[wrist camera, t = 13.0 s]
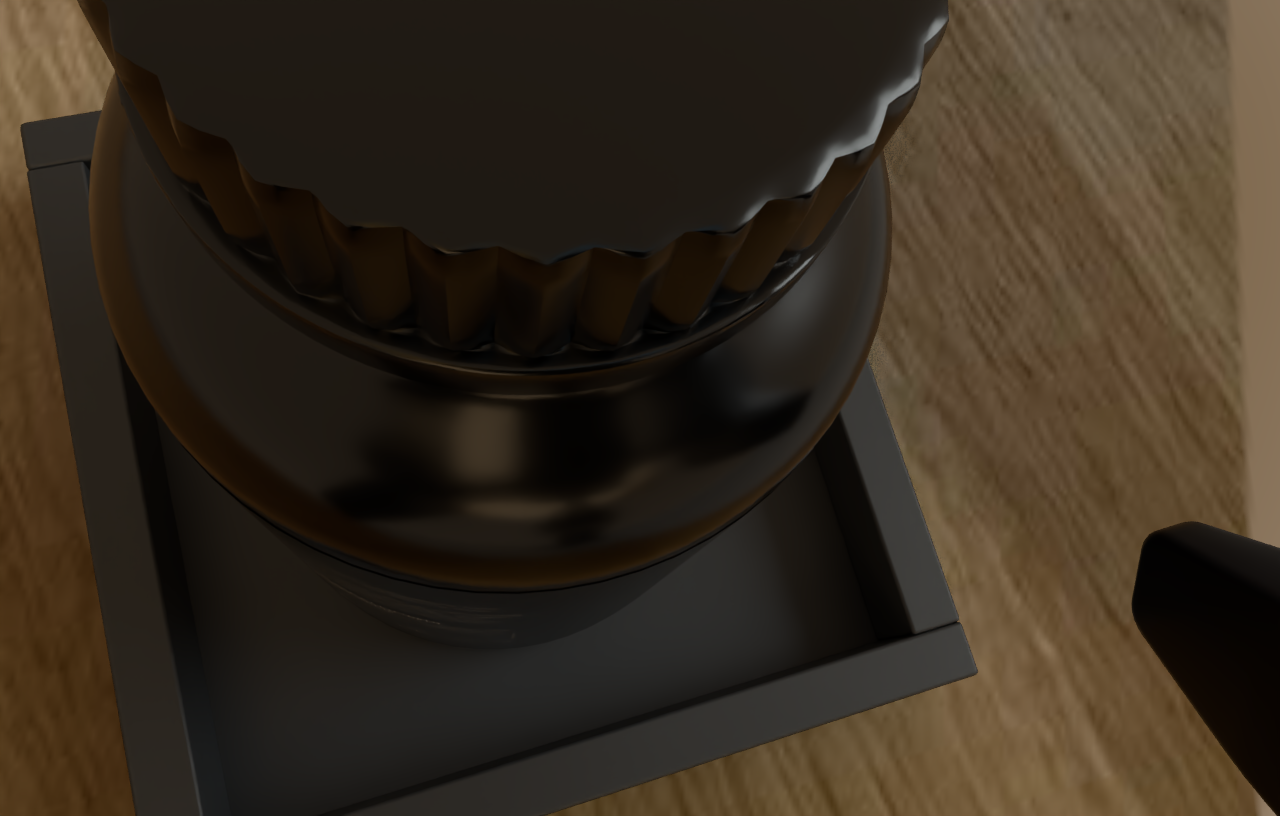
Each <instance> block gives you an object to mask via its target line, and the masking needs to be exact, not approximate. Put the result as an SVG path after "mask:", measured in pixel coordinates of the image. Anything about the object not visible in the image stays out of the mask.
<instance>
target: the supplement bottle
mask: <svg viewBox="0 0 1280 816" xmlns="http://www.w3.org/2000/svg"><path fill="white" fill-rule="evenodd" d="M77 1H78V3H79V5H80V8H81V9H82V11H83V13H84V15H85V17H86V19H87V21H88V22H89V24H90V26H91V28H92V30H93V32H94V33H95V35H96V37H97V39H98V41H99V42H100V44H101V46H102V48H103V50H104V51H105V53H106V55H107V57H108V59H109V60H110V62H111V64H112V66H113V67H114V70H115V73H114V75H113V77H112V80H111V82H110V85H109V88H108V91H107V94H106V98H105V101H104V105H103V108H102V111H101V115H100V118H99V122H98V125H97V131H96V137H95V143H94V149H93V155H92V161H91V168H90V185H89V206H88V209H89V223H90V238H91V248H92V253H93V259H94V264H95V269H96V275H97V280H98V285H99V290H100V294H101V297H102V300H103V303H104V306H105V310H106V313H107V316H108V319H109V322H110V326H111V329H112V331H113V333H114V335H115V338H116V340H117V342H118V344H119V347H120V349H121V351H122V353H123V356H124V358H125V360H126V362H127V365H128V366H129V368H130V370H131V371H132V373H133V375H134V377H135V378H136V380H137V382H138V383H139V385H140V387H141V389H142V390H143V392H144V394H145V395H146V397H147V399H148V400H149V402H150V403H151V405H152V406H153V407H154V409H155V410H156V411H157V413H158V414H159V415H160V417H161V418H162V420H163V421H164V422H165V424H166V425H167V426H168V428H169V429H170V430H171V432H172V433H173V434H174V436H175V437H176V438H177V440H178V441H179V442H180V444H181V445H182V446H183V448H184V449H185V450H186V451H187V452H188V453H189V454H190V455H191V456H192V457H193V459H194V460H195V461H196V462H197V463H198V464H199V465H200V466H201V467H202V468H203V469H204V470H205V471H206V473H207V474H208V475H209V476H210V477H211V478H212V479H213V480H214V481H215V482H216V483H217V484H218V485H219V486H220V487H221V488H223V489H224V490H225V491H226V492H227V493H228V494H229V495H230V496H231V497H232V498H233V499H235V500H236V501H237V502H238V503H239V504H240V505H241V506H242V507H243V508H244V509H246V510H247V511H248V512H249V513H250V514H251V515H252V516H253V517H254V518H256V519H257V520H258V521H259V522H260V523H261V524H262V525H263V526H264V527H265V528H267V529H268V530H269V531H270V532H271V533H272V534H273V535H274V536H275V537H276V538H278V539H279V540H280V541H281V542H282V543H283V544H284V545H285V546H286V547H287V548H289V549H290V550H291V551H292V552H293V553H294V554H295V555H296V556H297V557H298V558H300V559H301V560H302V561H303V562H304V563H305V564H306V565H307V566H308V567H310V568H311V569H312V570H313V571H314V572H315V573H316V574H317V575H318V576H319V577H321V578H322V579H323V580H324V581H325V582H326V583H327V584H329V585H330V586H331V587H332V588H333V589H334V590H335V591H337V592H338V593H339V594H340V595H341V596H343V597H344V598H345V599H347V600H348V601H350V602H351V603H353V604H354V605H355V606H357V607H358V608H360V609H361V610H362V611H364V612H365V613H367V614H368V615H370V616H372V617H374V618H375V619H377V620H379V621H381V622H382V623H384V624H386V625H388V626H390V627H392V628H395V629H397V630H399V631H402V632H404V633H406V634H408V635H411V636H414V637H418V638H421V639H424V640H427V641H430V642H434V643H439V644H444V645H449V646H453V647H462V648H471V649H509V648H520V647H527V646H532V645H537V644H542V643H547V642H550V641H554V640H557V639H560V638H564V637H567V636H570V635H572V634H575V633H577V632H579V631H582V630H584V629H587V628H589V627H591V626H593V625H595V624H597V623H598V622H600V621H602V620H604V619H606V618H608V617H610V616H611V615H613V614H614V613H616V612H618V611H619V610H621V609H622V608H624V607H625V606H627V605H628V604H630V603H631V602H633V601H634V600H636V599H637V598H638V597H640V596H641V595H642V594H644V593H645V592H646V591H648V590H649V589H650V588H652V587H653V586H654V585H655V584H657V583H658V582H659V581H661V580H662V579H663V578H665V577H666V576H667V575H669V574H670V573H671V572H672V571H674V570H675V569H676V568H678V567H679V566H680V565H682V564H683V563H684V562H685V561H687V560H688V559H689V558H691V557H692V556H693V555H695V554H696V553H697V552H699V551H700V550H701V549H702V548H704V547H705V546H706V545H708V544H709V543H710V542H712V541H713V540H714V539H716V538H717V537H718V536H719V535H721V534H722V533H723V532H725V531H726V530H727V529H729V528H730V527H731V526H732V525H734V524H735V523H736V522H738V521H739V520H740V519H741V518H742V517H744V516H745V515H746V514H747V513H748V512H750V511H751V510H752V509H753V508H754V507H756V506H757V505H758V504H759V503H760V502H762V501H763V500H764V499H765V498H766V497H768V496H769V495H770V494H771V493H772V492H773V491H774V490H775V489H776V488H777V487H778V486H779V485H780V484H781V483H782V482H783V481H784V480H785V479H786V478H787V477H788V476H789V475H790V474H791V473H792V472H793V471H794V470H795V469H796V467H797V466H798V465H799V464H800V463H801V462H802V461H803V460H804V459H805V457H806V456H807V455H808V454H809V453H810V451H811V450H812V449H813V448H814V446H815V445H816V444H817V442H818V441H819V440H820V439H821V437H822V436H823V435H824V434H825V432H826V431H827V430H828V428H829V427H830V426H831V424H832V423H833V421H834V420H835V418H836V416H837V415H838V413H839V412H840V410H841V408H842V407H843V405H844V404H845V402H846V401H847V399H848V397H849V396H850V394H851V392H852V390H853V388H854V386H855V384H856V382H857V379H858V377H859V375H860V373H861V371H862V369H863V367H864V365H865V363H866V360H867V357H868V354H869V352H870V349H871V346H872V343H873V340H874V338H875V335H876V332H877V329H878V326H879V322H880V318H881V314H882V310H883V306H884V301H885V297H886V293H887V287H888V279H889V272H890V264H891V250H892V209H891V197H890V184H889V178H888V173H887V167H886V162H885V156H884V151H883V148H884V147H885V145H886V144H887V143H888V141H889V140H890V138H891V137H892V135H893V134H894V133H895V131H896V130H897V128H898V127H899V125H900V124H901V123H902V121H903V120H904V118H905V117H906V115H907V114H908V112H909V111H910V109H911V107H912V105H913V103H914V101H915V99H916V96H917V93H918V90H919V87H920V82H921V76H922V70H923V68H924V67H925V65H926V64H927V63H928V61H929V60H930V58H931V57H932V55H933V53H934V52H935V50H936V49H937V47H938V46H939V44H940V42H941V40H942V38H943V36H944V33H945V30H946V27H947V24H948V21H949V15H948V0H77Z"/></svg>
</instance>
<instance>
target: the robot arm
mask: <svg viewBox="0 0 1280 816" xmlns="http://www.w3.org/2000/svg"><path fill="white" fill-rule="evenodd" d="M1132 613H1133V616H1134V620H1135V622H1136V624H1137V627H1138V629H1139V630H1140V632H1141V634H1142V635H1143V637H1144V638H1145V639H1146V641H1147V642H1148V644H1149V645H1150V646H1151V648H1152V649H1153V651H1154V652H1155V653H1156V655H1157V656H1158V658H1159V659H1160V660H1161V662H1162V663H1163V665H1164V666H1165V667H1166V669H1167V670H1168V672H1169V673H1170V674H1171V676H1172V677H1173V679H1174V680H1175V681H1176V683H1177V684H1178V686H1179V687H1180V688H1181V690H1182V691H1183V693H1184V694H1185V695H1186V697H1187V698H1188V700H1189V701H1190V702H1191V704H1192V705H1193V707H1194V708H1195V709H1196V711H1197V712H1198V714H1199V715H1200V716H1201V718H1202V719H1203V721H1204V722H1205V724H1206V725H1207V726H1208V728H1209V729H1210V731H1211V732H1212V733H1213V735H1214V736H1215V738H1216V739H1217V740H1218V742H1219V743H1220V745H1221V746H1222V747H1223V749H1224V750H1225V752H1226V753H1227V754H1228V756H1229V757H1230V758H1231V760H1232V761H1233V762H1234V764H1235V765H1236V766H1237V768H1238V769H1239V770H1240V772H1241V773H1242V774H1243V776H1244V777H1245V778H1246V779H1247V781H1248V782H1249V783H1250V784H1251V785H1252V787H1253V788H1254V789H1255V790H1256V792H1257V793H1258V794H1259V795H1260V796H1261V798H1262V799H1263V800H1264V801H1265V802H1266V804H1267V805H1268V806H1269V807H1270V808H1271V809H1272V811H1273V812H1274V813H1275V814H1276V815H1277V816H1280V548H1277V547H1275V546H1272V545H1268V544H1265V543H1262V542H1259V541H1256V540H1253V539H1250V538H1247V537H1244V536H1240V535H1237V534H1234V533H1231V532H1228V531H1225V530H1222V529H1219V528H1216V527H1212V526H1209V525H1206V524H1203V523H1199V522H1192V521H1191V522H1183V523H1180V524H1176V525H1173V526H1170V527H1167V528H1164V529H1161V530H1157V531H1154V532H1153V533H1151V534H1149V535H1148V537H1147V538H1146V539H1145V541H1144V542H1143V546H1142V549H1141V555H1140V560H1139V565H1138V570H1137V576H1136V581H1135V586H1134V591H1133V597H1132Z"/></svg>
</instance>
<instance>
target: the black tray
mask: <svg viewBox="0 0 1280 816" xmlns="http://www.w3.org/2000/svg"><path fill="white" fill-rule="evenodd" d="M101 111H102V110H101ZM101 111H95V112H89V113H83V114H77V115H71V116H64V117H58V118H52V119H46V120H40V121H34V122H27V123H24V124H22V125H21V136H22V142H23V148H24V154H25V160H26V166H27V168H28V169H29V171H28V172H27V176H28V182H29V188H30V194H31V200H32V206H33V212H34V218H35V224H36V229H37V235H38V241H39V247H40V253H41V259H42V265H43V271H44V277H45V283H46V288H47V294H48V300H49V306H50V312H51V318H52V324H53V330H54V336H55V342H56V347H57V353H58V359H59V365H60V371H61V377H62V383H63V389H64V395H65V401H66V406H67V412H68V418H69V424H70V430H71V436H72V442H73V448H74V454H75V460H76V466H77V471H78V477H79V483H80V489H81V495H82V501H83V507H84V513H85V519H86V525H87V530H88V536H89V542H90V548H91V554H92V560H93V566H94V572H95V578H96V584H97V589H98V595H99V601H100V607H101V613H102V619H103V625H104V631H105V637H106V643H107V648H108V654H109V660H110V666H111V672H112V678H113V684H114V690H115V696H116V702H117V707H118V713H119V719H120V725H121V731H122V737H123V743H124V749H125V755H126V761H127V767H128V772H129V778H130V784H131V790H132V796H133V802H134V808H135V814H136V816H545V815H548V814H551V813H554V812H557V811H560V810H563V809H566V808H569V807H572V806H575V805H578V804H581V803H585V802H588V801H591V800H594V799H597V798H600V797H603V796H606V795H609V794H612V793H615V792H618V791H621V790H624V789H627V788H630V787H634V786H637V785H640V784H643V783H646V782H649V781H652V780H655V779H658V778H661V777H664V776H667V775H670V774H673V773H676V772H680V771H683V770H686V769H689V768H692V767H695V766H698V765H701V764H704V763H707V762H710V761H713V760H716V759H719V758H722V757H726V756H729V755H732V754H735V753H738V752H741V751H744V750H747V749H750V748H753V747H756V746H759V745H762V744H765V743H768V742H771V741H775V740H778V739H781V738H784V737H787V736H790V735H793V734H796V733H799V732H802V731H805V730H808V729H811V728H814V727H817V726H821V725H824V724H827V723H830V722H833V721H836V720H839V719H842V718H845V717H848V716H851V715H854V714H857V713H860V712H863V711H867V710H870V709H873V708H876V707H879V706H882V705H885V704H888V703H891V702H894V701H897V700H900V699H903V698H906V697H909V696H913V695H916V694H919V693H922V692H925V691H928V690H931V689H934V688H937V687H940V686H943V685H946V684H949V683H952V682H955V681H958V680H962V679H965V678H968V677H971V676H974V675H976V674H977V673H978V670H977V667H976V664H975V661H974V659H973V656H972V653H971V650H970V647H969V644H968V641H967V639H966V636H965V633H964V630H963V627H962V625H961V623H959V622H957V621H958V620H959V616H958V613H957V610H956V607H955V605H954V602H953V599H952V596H951V593H950V590H949V588H948V585H947V582H946V579H945V576H944V573H943V571H942V568H941V565H940V562H939V559H938V556H937V553H936V551H935V548H934V545H933V542H932V539H931V536H930V534H929V531H928V528H927V525H926V522H925V519H924V517H923V514H922V511H921V508H920V505H919V502H918V499H917V497H916V494H915V491H914V488H913V485H912V482H911V480H910V477H909V474H908V471H907V468H906V465H905V463H904V460H903V457H902V454H901V451H900V448H899V446H898V443H897V440H896V437H895V434H894V431H893V428H892V426H891V423H890V420H889V417H888V414H887V411H886V409H885V406H884V403H883V400H882V397H881V394H880V392H879V389H878V386H877V383H876V380H875V377H874V374H873V372H872V369H871V366H870V363H869V360H868V357H867V360H866V363H865V365H864V367H863V369H862V371H861V373H860V375H859V377H858V379H857V382H856V384H855V386H854V388H853V390H852V392H851V394H850V396H849V397H848V399H847V401H846V402H845V404H844V405H843V407H842V408H841V410H840V412H839V413H838V415H837V416H836V418H835V420H834V421H833V423H832V424H831V426H830V427H829V428H828V430H827V431H826V432H825V434H824V435H823V436H822V437H821V439H820V440H819V441H818V442H817V444H816V445H815V446H814V448H813V449H812V450H811V451H810V453H809V454H808V455H807V456H806V457H805V459H804V460H803V461H802V462H801V463H800V464H799V465H798V466H797V467H796V469H795V470H794V471H793V472H792V473H791V474H790V475H789V476H788V477H787V478H786V479H785V480H784V481H783V482H782V483H781V484H780V485H779V486H778V487H777V488H776V489H775V490H774V491H773V492H772V493H771V494H770V495H769V496H768V497H766V498H765V499H764V500H763V501H762V502H760V503H759V504H758V505H757V506H756V507H754V508H753V509H752V510H751V511H750V512H748V513H747V514H746V515H745V516H744V517H742V518H741V519H740V520H739V521H738V522H736V523H735V524H734V525H732V526H731V527H730V528H729V529H727V530H726V531H725V532H723V533H722V534H721V535H719V536H718V537H717V538H716V539H714V540H713V541H712V542H710V543H709V544H708V545H706V546H705V547H704V548H702V549H701V550H700V551H699V552H697V553H696V554H695V555H693V556H692V557H691V558H689V559H688V560H687V561H685V562H684V563H683V564H682V565H680V566H679V567H678V568H676V569H675V570H674V571H672V572H671V573H670V574H669V575H667V576H666V577H665V578H663V579H662V580H661V581H659V582H658V583H657V584H655V585H654V586H653V587H652V588H650V589H649V590H648V591H646V592H645V593H644V594H642V595H641V596H640V597H638V598H637V599H636V600H634V601H633V602H631V603H630V604H628V605H627V606H625V607H624V608H622V609H621V610H619V611H618V612H616V613H614V614H613V615H611V616H610V617H608V618H606V619H604V620H602V621H600V622H598V623H597V624H595V625H593V626H591V627H589V628H587V629H584V630H582V631H579V632H577V633H575V634H572V635H570V636H567V637H564V638H560V639H557V640H554V641H550V642H547V643H542V644H537V645H532V646H527V647H520V648H509V649H471V648H462V647H453V646H449V645H444V644H439V643H434V642H430V641H427V640H424V639H421V638H418V637H414V636H411V635H408V634H406V633H404V632H402V631H399V630H397V629H395V628H392V627H390V626H388V625H386V624H384V623H382V622H381V621H379V620H377V619H375V618H374V617H372V616H370V615H368V614H367V613H365V612H364V611H362V610H361V609H360V608H358V607H357V606H355V605H354V604H353V603H351V602H350V601H348V600H347V599H345V598H344V597H343V596H341V595H340V594H339V593H338V592H337V591H335V590H334V589H333V588H332V587H331V586H330V585H329V584H327V583H326V582H325V581H324V580H323V579H322V578H321V577H319V576H318V575H317V574H316V573H315V572H314V571H313V570H312V569H311V568H310V567H308V566H307V565H306V564H305V563H304V562H303V561H302V560H301V559H300V558H298V557H297V556H296V555H295V554H294V553H293V552H292V551H291V550H290V549H289V548H287V547H286V546H285V545H284V544H283V543H282V542H281V541H280V540H279V539H278V538H276V537H275V536H274V535H273V534H272V533H271V532H270V531H269V530H268V529H267V528H265V527H264V526H263V525H262V524H261V523H260V522H259V521H258V520H257V519H256V518H254V517H253V516H252V515H251V514H250V513H249V512H248V511H247V510H246V509H244V508H243V507H242V506H241V505H240V504H239V503H238V502H237V501H236V500H235V499H233V498H232V497H231V496H230V495H229V494H228V493H227V492H226V491H225V490H224V489H223V488H221V487H220V486H219V485H218V484H217V483H216V482H215V481H214V480H213V479H212V478H211V477H210V476H209V475H208V474H207V473H206V471H205V470H204V469H203V468H202V467H201V466H200V465H199V464H198V463H197V462H196V461H195V460H194V459H193V457H192V456H191V455H190V454H189V453H188V452H187V451H186V450H185V449H184V448H183V446H182V445H181V444H180V442H179V441H178V440H177V438H176V437H175V436H174V434H173V433H172V432H171V430H170V429H169V428H168V426H167V425H166V424H165V422H164V421H163V420H162V418H161V417H160V415H159V414H158V413H157V411H156V410H155V409H154V407H153V406H152V405H151V403H150V402H149V400H148V399H147V397H146V395H145V394H144V392H143V390H142V389H141V387H140V385H139V383H138V382H137V380H136V378H135V377H134V375H133V373H132V371H131V370H130V368H129V366H128V365H127V362H126V360H125V358H124V356H123V353H122V351H121V349H120V347H119V344H118V342H117V340H116V338H115V335H114V333H113V331H112V329H111V326H110V322H109V319H108V316H107V313H106V310H105V306H104V303H103V300H102V297H101V294H100V290H99V285H98V280H97V275H96V269H95V264H94V259H93V253H92V248H91V238H90V223H89V209H88V206H89V185H90V168H91V161H92V155H93V149H94V143H95V137H96V131H97V125H98V122H99V118H100V115H101Z"/></svg>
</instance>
